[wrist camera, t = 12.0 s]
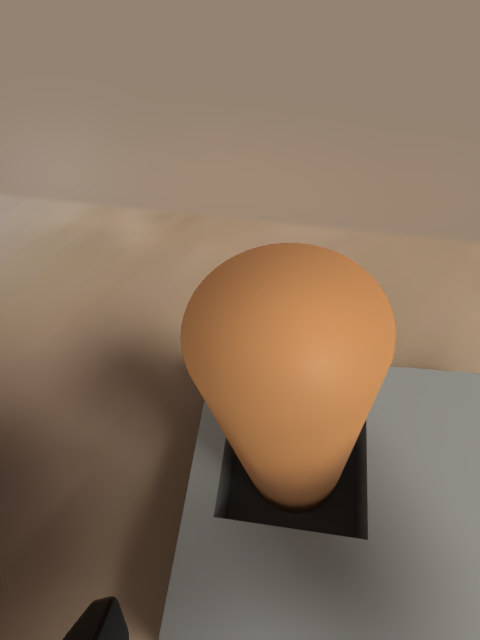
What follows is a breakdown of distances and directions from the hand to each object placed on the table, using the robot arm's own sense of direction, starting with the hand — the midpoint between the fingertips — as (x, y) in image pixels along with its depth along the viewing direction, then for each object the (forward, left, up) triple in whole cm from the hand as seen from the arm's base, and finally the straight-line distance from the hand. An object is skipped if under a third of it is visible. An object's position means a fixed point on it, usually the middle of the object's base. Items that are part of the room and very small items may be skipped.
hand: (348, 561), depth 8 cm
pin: (+4, +1, -10) cm, 11 cm away
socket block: (+2, -2, -11) cm, 12 cm away
